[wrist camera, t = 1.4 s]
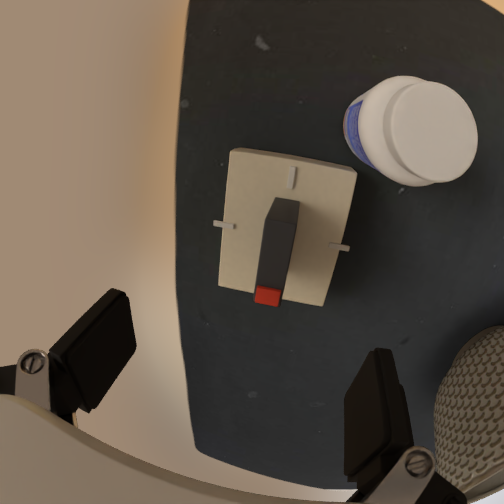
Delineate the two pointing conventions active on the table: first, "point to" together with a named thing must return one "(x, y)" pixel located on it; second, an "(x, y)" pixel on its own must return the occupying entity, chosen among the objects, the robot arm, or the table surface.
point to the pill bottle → (412, 131)
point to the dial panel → (308, 227)
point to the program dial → (276, 251)
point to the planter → (473, 417)
